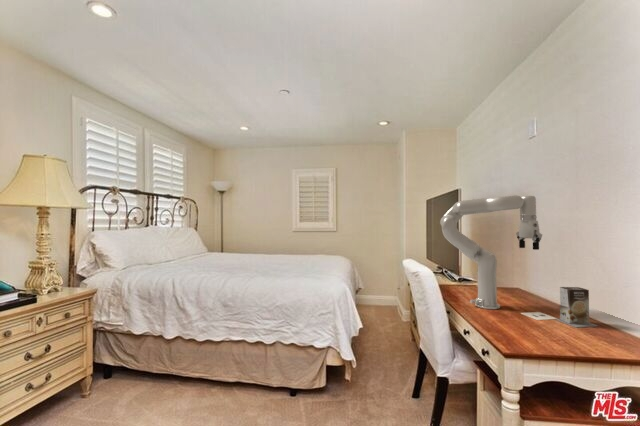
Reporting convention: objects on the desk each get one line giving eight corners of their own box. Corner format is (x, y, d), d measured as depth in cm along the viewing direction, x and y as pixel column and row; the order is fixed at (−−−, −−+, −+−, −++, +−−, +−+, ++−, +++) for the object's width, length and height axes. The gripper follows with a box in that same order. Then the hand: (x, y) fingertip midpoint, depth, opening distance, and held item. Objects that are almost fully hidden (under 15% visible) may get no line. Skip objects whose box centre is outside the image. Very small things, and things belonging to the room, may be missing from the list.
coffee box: (569, 324, 145) (568, 289, 145) (559, 319, 151) (559, 286, 151) (590, 324, 144) (589, 289, 145) (579, 319, 151) (578, 286, 151)
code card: (537, 320, 152) (537, 319, 152) (520, 313, 163) (520, 312, 163) (557, 319, 153) (557, 318, 153) (539, 312, 164) (539, 311, 164)
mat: (576, 327, 141) (576, 326, 141) (555, 319, 152) (555, 319, 152) (597, 326, 142) (597, 325, 142) (575, 318, 153) (575, 317, 153)
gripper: (547, 217, 163) (548, 250, 163) (522, 217, 181) (523, 247, 180) (534, 218, 163) (535, 250, 162) (510, 218, 180) (511, 247, 179)
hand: (528, 248), depth 171 cm, fingers open, 9 cm apart
